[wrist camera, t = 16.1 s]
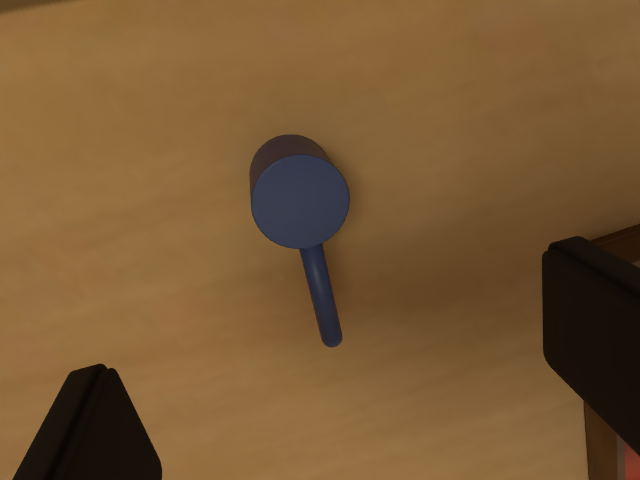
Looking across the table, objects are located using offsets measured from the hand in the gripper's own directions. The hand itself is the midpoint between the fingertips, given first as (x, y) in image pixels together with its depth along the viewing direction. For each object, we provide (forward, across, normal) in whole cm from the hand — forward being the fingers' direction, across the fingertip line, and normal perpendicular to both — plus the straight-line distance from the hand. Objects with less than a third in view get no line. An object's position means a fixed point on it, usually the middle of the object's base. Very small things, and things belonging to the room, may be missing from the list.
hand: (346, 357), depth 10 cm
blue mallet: (+14, 0, +2) cm, 14 cm away
